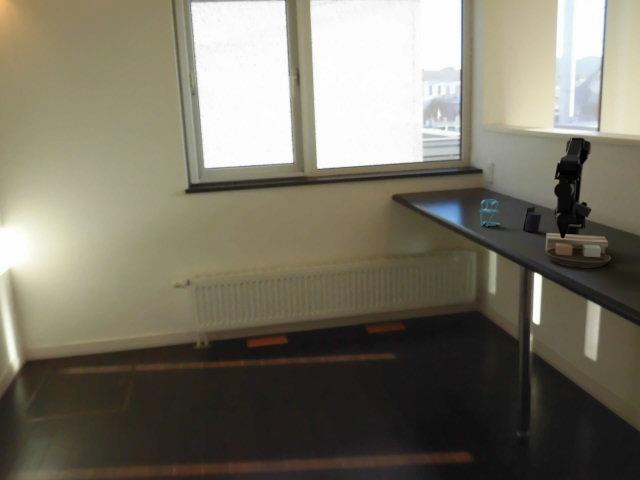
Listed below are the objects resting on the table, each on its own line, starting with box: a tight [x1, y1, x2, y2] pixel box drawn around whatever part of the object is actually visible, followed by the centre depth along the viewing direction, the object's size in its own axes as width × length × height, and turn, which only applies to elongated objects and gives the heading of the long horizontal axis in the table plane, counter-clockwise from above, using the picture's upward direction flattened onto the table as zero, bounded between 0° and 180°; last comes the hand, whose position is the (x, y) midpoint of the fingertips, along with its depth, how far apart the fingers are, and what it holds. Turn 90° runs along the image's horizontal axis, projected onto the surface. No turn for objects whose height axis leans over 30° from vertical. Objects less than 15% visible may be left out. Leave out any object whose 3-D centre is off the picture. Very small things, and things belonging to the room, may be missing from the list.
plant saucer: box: [546, 248, 611, 269], centre depth 208 cm, size 21×21×3 cm
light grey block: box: [583, 245, 601, 257], centre depth 205 cm, size 5×5×3 cm
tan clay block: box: [555, 243, 572, 255], centre depth 208 cm, size 5×5×3 cm
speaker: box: [522, 206, 542, 233], centre depth 258 cm, size 8×6×10 cm
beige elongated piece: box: [545, 232, 609, 254], centre depth 219 cm, size 11×20×6 cm, turn 72°
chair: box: [478, 198, 501, 228], centre depth 271 cm, size 8×8×12 cm
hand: (562, 238), depth 215 cm, fingers closed
